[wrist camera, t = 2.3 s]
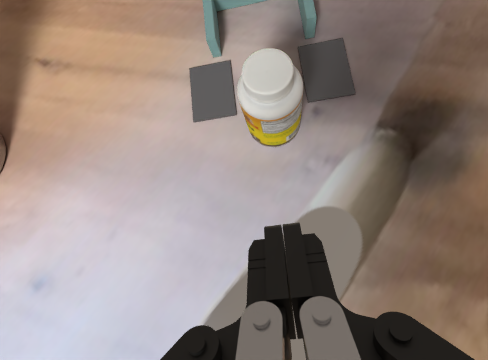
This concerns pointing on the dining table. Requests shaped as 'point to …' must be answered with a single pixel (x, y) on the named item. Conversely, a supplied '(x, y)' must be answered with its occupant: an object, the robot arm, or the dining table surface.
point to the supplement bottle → (271, 97)
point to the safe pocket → (213, 3)
